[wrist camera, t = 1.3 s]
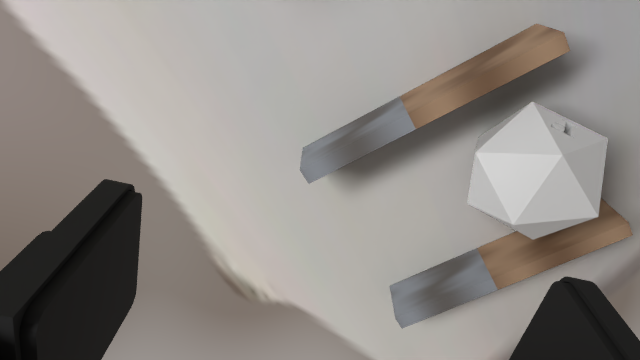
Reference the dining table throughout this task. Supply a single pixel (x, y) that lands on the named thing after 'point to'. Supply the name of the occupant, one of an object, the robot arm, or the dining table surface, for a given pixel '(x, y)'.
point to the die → (538, 172)
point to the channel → (500, 255)
